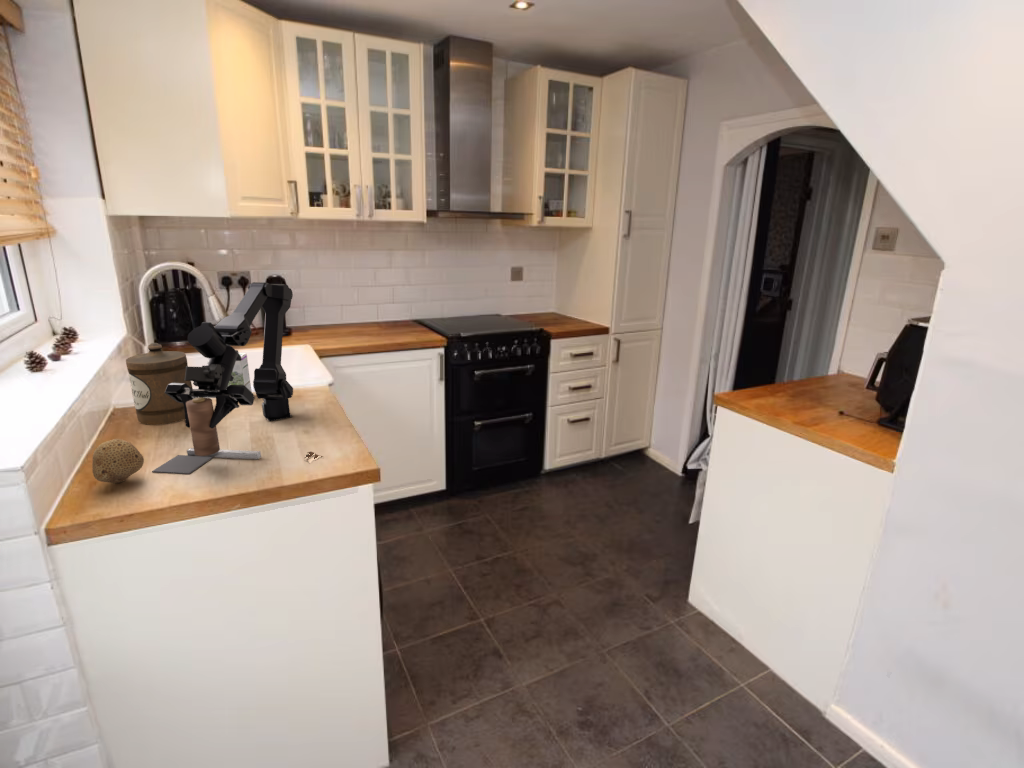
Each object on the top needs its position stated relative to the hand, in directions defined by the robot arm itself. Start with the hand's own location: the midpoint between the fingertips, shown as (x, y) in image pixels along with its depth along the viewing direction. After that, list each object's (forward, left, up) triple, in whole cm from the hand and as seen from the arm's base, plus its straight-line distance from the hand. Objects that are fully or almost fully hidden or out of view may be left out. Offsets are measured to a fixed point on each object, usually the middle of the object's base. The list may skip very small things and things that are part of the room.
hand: (199, 427), depth 123 cm
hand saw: (-20, 0, -11) cm, 23 cm away
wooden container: (+3, -45, -11) cm, 47 cm away
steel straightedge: (-5, -5, -10) cm, 12 cm away
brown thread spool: (-1, -1, -7) cm, 7 cm away
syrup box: (-18, -51, -11) cm, 55 cm away
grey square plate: (+4, -5, -10) cm, 12 cm away
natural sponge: (+16, -3, -11) cm, 19 cm away
